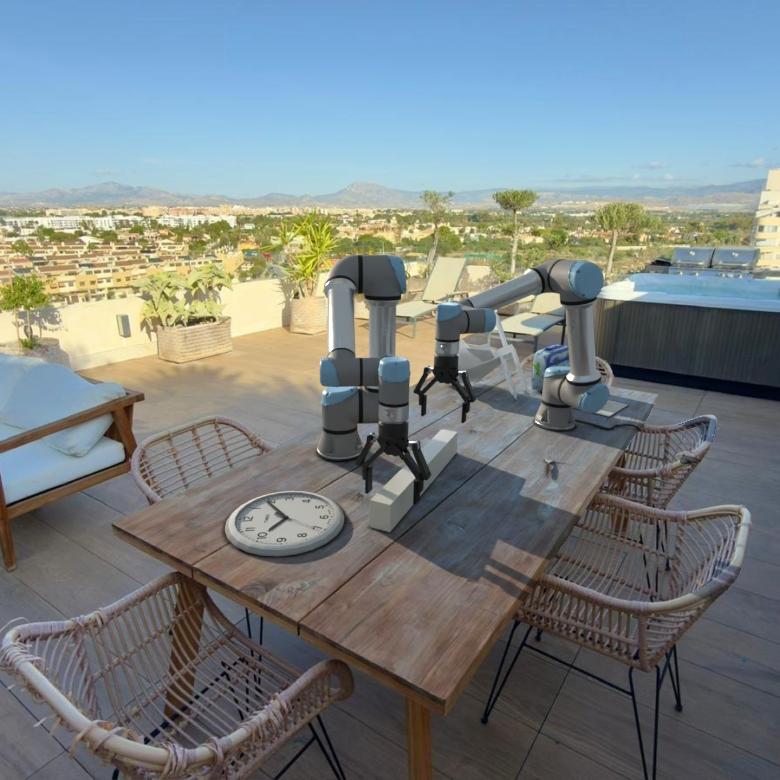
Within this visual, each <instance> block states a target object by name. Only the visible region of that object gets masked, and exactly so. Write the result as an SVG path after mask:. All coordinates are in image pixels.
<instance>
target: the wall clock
mask: <svg viewBox="0 0 780 780" xmlns="http://www.w3.org/2000/svg"><path fill="white" fill-rule="evenodd" d="M344 515H345V514H344V511H343V509H342V508H341V507H340V505H338V503H336V502H335V501H334V500H333V499H332V500H331V499H330V498H329V497H327V496H324V495H322V494H318V493H316V492H311V491H310V492H309V491H305V490H304V491H303V490H284V491H276V492H272V493H267V494H264V495H260V496H257V497H255V498H252V499H250V500H248V501H246V502H245V503H243V504H241V505H240V506H238V508H236V509H235V510H233V511H232V512H231V513H230V515H229V517H228V518H227V520H226V521H225V527H224V532H225V536H226V538H227V540H228V541H229V542H230V544H231V545H233V546H234V547H235V548H237V549H240V550H241V551H244V552H245V553H248V554H252V555H256V556H262V557H287V556H294V555H296V556H297V555H299V554H304V553H307V552H311V551H313V550H316V549H318V548H320V547H322V546H324V545H327V544H328V543H329V542H331V541H332V540H333V539H335V538H336V537H337V536H338V534H339V533H340V532H341V530H342V529H343V527H344V522H345V516H344Z"/></svg>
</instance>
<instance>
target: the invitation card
mask: <svg viewBox="0 0 780 780" xmlns="http://www.w3.org/2000/svg"><path fill="white" fill-rule="evenodd" d="M628 406H629V404H627V403H623V402H618V401H614V400H609V399H608V401H607V403H606V404H605V405H604V407H603V408H602V409H601V410H599V411H598V412H596V413H595V414H596V415H600V416H604V417H608V418H609V417H611V416H613V415H614V414H616V413H617V412H619V411H621V410H623V409H624V408H626V407H628Z"/></svg>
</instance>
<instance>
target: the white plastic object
mask: <svg viewBox="0 0 780 780" xmlns="http://www.w3.org/2000/svg"><path fill="white" fill-rule="evenodd" d="M494 312H495V315H496V328H497V332H498V335H499V338H500V342H501V345H502V347H500V348H498V349H496V350H495V349H493V348H492V347H491V346H490V344H489V343H488V342H487V343H483V344H479V345H473V346H469V345H468V343H466V342H465V340H464V339H463V338H460V341H459V353H458V354H457V355H458V356H459V359H458V371H463V372H464V371H468V378H469V381H470V383H473V384H477V383H480V382H482V381H484V378H485V377H486V376H487V375H489V374H490V373H492V372H494V371H495V370H496V369H497V368H499V367H500V366H502V370H503V373H504V376H505V380H506V383H507V386H508V390H509V393H510V394H511V395H512V397H513V398H514V399H515V400H517V392H516V391H517V390H516V388H515V385H514V381H513V378H512V375H511V371H510V369H509V365H508V361H510V360H513V363H514V366H515V369H516V372H517V376H518V380H519V382H520V385H521V389H522V391H523V393H524V395H525V396H526V397H528V396H531V395H530V390H529V388H528V387H529V386H528V384H527V381H526V378H525V375H524V371H523V369H522V368H523V367H522V366H521V362H520V359H519V355H518V352H517V349H516V347H515V346H514V345H513V343H511V344H508V341H507V337H506V334H505V331H504V328H503V325H502V321H501V318H500V315H499V314H498V312H497V310H495V311H494ZM457 379H458V381H459V383H460V384H464V383H463V381H462V378H460V376H459V375H458V376H457ZM443 384H444V385H445V386H449V385H452V384H451V383H450V384H446V383H443Z"/></svg>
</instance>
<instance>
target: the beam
mask: <svg viewBox="0 0 780 780" xmlns="http://www.w3.org/2000/svg"><path fill="white" fill-rule="evenodd" d="M421 451H422V453H423V456H424V458H425V460H426V463H427V465H428V467H429V470H430V472H431V477H430V478H429V479H428V480H427V481H426V480H424V489H423V491H422V492H421V493H420V497H421V496H422V495H423V494H424V492H426V490H427V489H428V488H429V486H431V484H432V483H433V482H434V480H435V479H437V477H438V476H439V475H440V473H441V472H442V471H443V470H444V469H445V467H447V465H448V464H449V462H450V461H451V460H452V459H453V458H454V457H455V456H456V454H457V451H458V431H455V430H448V429H442V428H441V429H440V430H439V431H438V432H437V433H436V434H435V435H434V436H433V437H432V438H431V439H430V440H429V441H428V442H427V443H426V444H425V445H424V446H423V447H422V448H421ZM412 458H413V459H414V461H415V462H416V460H415V457H414V456H412ZM416 463H417V462H416ZM417 465H418V464H417ZM415 479H416V478H415V477H414V475H413V474H412V472H411V471H410V469H409V468H408V467H407V465H406V464H405V465H404V466H402V468H401V469H400V470H399V471H398V472H397V473H395V475H394V476H393V477H392V478H391V479H390V480H389V481H388V482H386V483H385V484H384V486H382V487H381V489H379V491H377V493H375V494H374V495H373V496H372V497H371V498H370V499H369V528H372V529H375V530H379V531H383V532H386V533H391V532H392V531H393V529H394V528H395V527H396V526H397V525H398V523H399V522H400V521H401V520H402V519H403V517H404V516H406V514H407V513H408V511H409V510H410V509H411V508H412V507H413V506H414V504H413V489H414V480H415Z"/></svg>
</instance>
